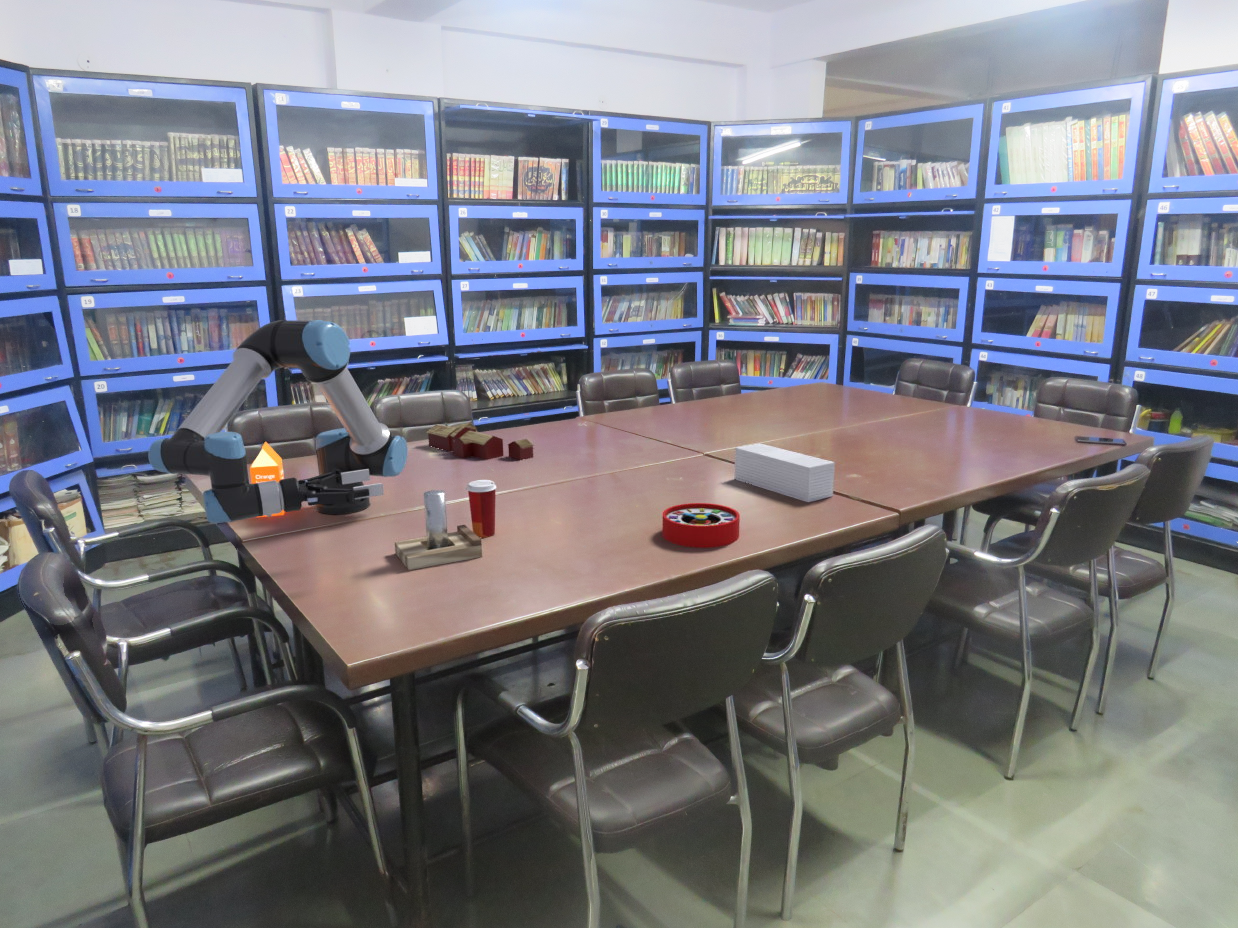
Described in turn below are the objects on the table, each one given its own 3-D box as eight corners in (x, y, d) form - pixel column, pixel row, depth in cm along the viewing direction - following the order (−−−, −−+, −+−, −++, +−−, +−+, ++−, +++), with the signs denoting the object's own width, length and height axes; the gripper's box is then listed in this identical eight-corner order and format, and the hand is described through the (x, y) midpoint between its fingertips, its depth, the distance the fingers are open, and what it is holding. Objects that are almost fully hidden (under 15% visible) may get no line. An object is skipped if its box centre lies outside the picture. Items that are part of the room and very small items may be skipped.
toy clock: (711, 531, 203) (646, 516, 215) (711, 554, 204) (647, 537, 217) (754, 512, 218) (691, 498, 230) (753, 533, 219) (691, 518, 232)
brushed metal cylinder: (425, 553, 206) (421, 491, 202) (445, 550, 208) (441, 488, 204) (431, 560, 202) (426, 496, 198) (451, 556, 204) (447, 494, 200)
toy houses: (423, 448, 319) (421, 422, 316) (466, 439, 333) (465, 414, 331) (497, 467, 289) (496, 439, 286) (541, 457, 303) (540, 430, 301)
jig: (395, 553, 207) (394, 536, 205) (465, 541, 215) (464, 524, 214) (408, 570, 195) (407, 552, 194) (482, 556, 204) (481, 539, 203)
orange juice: (255, 517, 236) (246, 449, 231) (259, 508, 245) (251, 442, 240) (284, 514, 238) (276, 447, 233) (287, 506, 247) (280, 440, 242)
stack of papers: (734, 479, 270) (735, 447, 268) (758, 474, 276) (759, 443, 273) (808, 503, 245) (809, 467, 242) (832, 496, 250) (834, 462, 248)
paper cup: (500, 529, 224) (497, 478, 220) (497, 538, 216) (494, 486, 213) (471, 529, 224) (468, 479, 220) (467, 539, 216) (463, 487, 213)
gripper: (275, 497, 199) (365, 483, 209) (291, 528, 178) (390, 511, 188) (271, 467, 197) (362, 454, 207) (286, 494, 176) (387, 479, 186)
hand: (375, 481), depth 197 cm, fingers open, 13 cm apart
